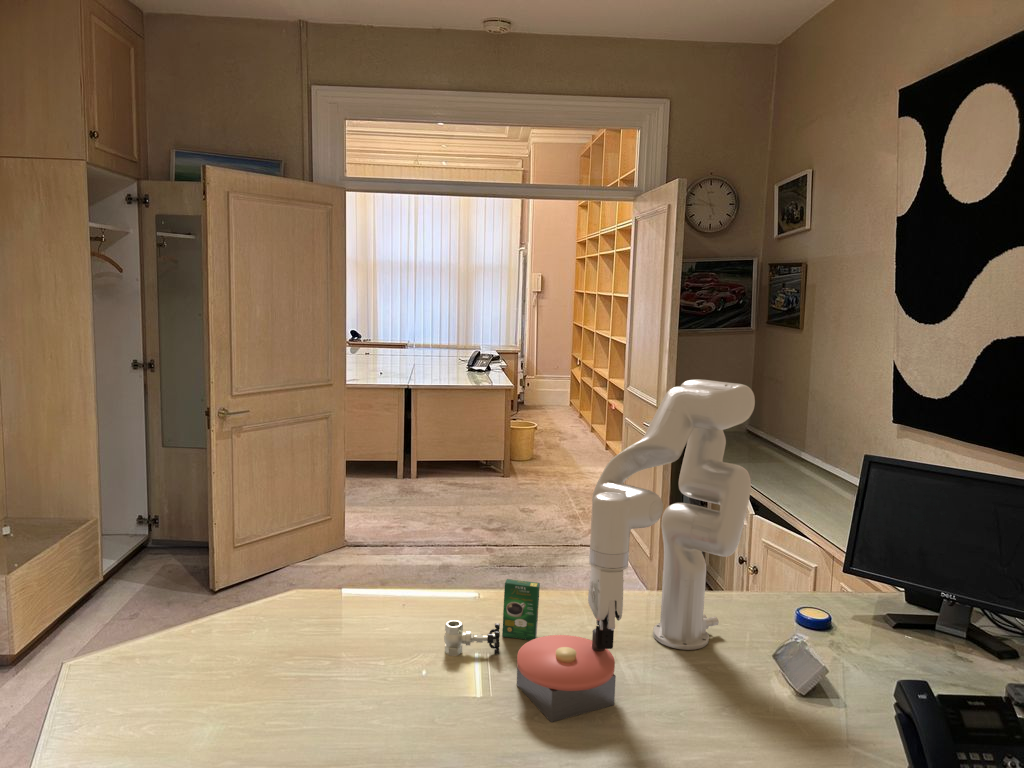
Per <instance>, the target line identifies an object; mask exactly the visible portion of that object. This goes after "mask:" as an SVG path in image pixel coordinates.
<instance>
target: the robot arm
mask: <svg viewBox="0 0 1024 768" xmlns="http://www.w3.org/2000/svg"><path fill="white" fill-rule="evenodd" d="M755 399H756V398H755V394H754V391H753V390H752V388H751V387H749V386H748V385H746V384H742V383H736V382H728V381H718V380H710V379H700V378H699V379H697V378H696V379H688V380H685V381H684V382H682V383H681V384H680V385H679V386H678V385H677V386H674V387H672V388H670V389H669V390H668V391H666V393H665V395H664V396H663V398H662V401H660V404H659V406H658V408H657V409H656V412H655V414H654V415H653V418H652V420H651V422H650V423H649V425H648V428H647V430H646V431H645V433H644V435H643V437H642V438H641V439H640V440H638V441H636V442H634V443H632V444H631V445H629V446H627V447H626V448H624V449H623V450H622V451H620V452H619V453H618V454H616V455H615V456H614V457H612V458H611V460H609V462H608V463H607V464H606V466H605V468H604V469H603V471H602V472H601V475H600V476H599V479H598V481H597V482H596V485H595V487H594V489H593V493H592V496H591V497H592V498H591V522H590V539H589V555H588V556H589V557H588V558H589V559H588V560H589V561H588V564H589V565H590V575H589V583H588V584H589V585H588V586H589V587H588V594H587V596H588V597H587V601H588V606H589V608H590V610H591V612H592V615H593V616H594V618H595V619H596V626H595V629H596V639H595V644H596V647H597V648H598V649H608V650H611V649H612V650H613V647H614V637H615V636H614V633H615V629H616V620H617V621H620V620H621V619H622V617H623V610H624V608H623V607H624V581H625V580H624V570H626V569H628V567H629V557H630V540H631V539H630V537H631V530H634V529H647V528H649V527H652V526H654V525H656V523H658V521H659V520H660V519H661V526H660V527H661V533H662V539H663V540H662V541H663V567H662V569H663V570H662V584H661V585H662V587H661V602H660V603H661V604H660V621H659V623H657V624H655V625H654V627H653V628H652V629H653V630H652V635H653V638H654V639H655V640H656V641H657V642H659V643H660V644H662V645H663V646H666V647H668V648H672V649H675V650H676V649H677V650H682V651H685V650H686V651H690V650H691V651H692V650H698V649H702V648H704V647H706V646H707V645H708V644H709V640H710V636H709V633H708V632H707V631H706V630H708V629H709V627H713V626H714V627H715V626H718V625H719V618H718V617H717V616H712V617H708V618H707V615H706V614H704V609H705V592H706V579H707V578H706V577H707V562H706V560H705V557H704V554H703V552H704V553H707V554H711V555H715V556H719V557H726V558H727V557H729V556H732V555H733V554H734V553H735V552H736V551H737V549H738V548H739V547H738V546H739V545H740V540H741V536H742V533H743V529H744V525H745V524H744V523H745V519H746V514H747V511H748V506H749V501H750V496H751V491H752V490H751V489H752V482H751V476H750V474H749V471H748V470H747V469H746V468H744V467H743V466H742V465H739V464H735V463H731V462H730V463H729V462H725V461H723V460H724V455H725V449H726V445H727V439H726V435H725V432H724V430H726V429H728V430H729V429H731V428H732V427H735V426H738V425H741V424H744V422H746V421H747V420H748V419H750V417H751V416H752V414H753V412H754V411H755V410H754V409H755V404H756V400H755ZM685 447H686V448H685ZM684 449H685V451H684ZM683 452H684V456H683V459H682V464H681V468H680V473H679V476H678V477H679V478H678V490H679V491H680V493H681V494H682V495H684V496H686V497H687V498H690V499H694V500H698V501H702V502H707V503H710V504H714V505H719V510H717V509H716V510H715V509H713V508H712V509H711V508H709V507H708V508H707V507H706V506H705V507H704V506H699V505H697V504H692V503H688V502H687V503H685V502H675V503H672V504H670V505H668V506H667V507H666V508H665V509H664V503H663V500H662V499H661V497H660V495H659V494H658V493H656V492H655V491H652V490H650V489H646V488H641V487H637V486H634V485H630V484H626V483H625V482H626V481H627V479H629V478H630V477H632V476H633V475H634V474H637V473H638V472H641V471H643V470H647V469H651V468H652V469H653V468H656V467H659V466H664V465H668V464H671V463H674V462H676V461H677V460H679V459H680V457H681V456H682V454H683Z"/></svg>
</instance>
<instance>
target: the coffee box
mask: <svg viewBox="0 0 1024 768" xmlns="http://www.w3.org/2000/svg"><path fill="white" fill-rule="evenodd" d="M540 585H541V584H540V582H534V581H527V580H520V579H509V578H507V579H506V580H505V582H504V590H503V593H504V595H503V609H502V610H503V612H502V630H501V631H502V635H501V636H502V638H509V639H519V640H526V641H531V640H533V639H536V638H537V634H538V621H539V620H538V618H539V602H540Z"/></svg>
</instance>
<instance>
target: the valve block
mask: <svg viewBox="0 0 1024 768" xmlns="http://www.w3.org/2000/svg"><path fill="white" fill-rule="evenodd" d="M616 677H617V676H616V674H615V673H614V674H613V676H612V678H611V679H610V680H609V681H607V682H606V683H605V684H603V685H601V686H598V687H596V688H592V689H588V690H581V691H562V690H555V689H550V688H547V687H543V686H540V685H538V684H536V683H533V682H532V681H530V680H528V679H527V678H526V677H524V676H523V675H522V674H521V672H520V671H519V669H518V666H517V665H516V686H517V687H518V688H519V690H521V691H522V692H523V694H524V695H525V696H527V698H528V699H529V700H530V701H531V703H533V704H534V706H536V708H537V709H538V710H539V712H541V714H543V715H544V717H546V718H547V720H548V721H549V722H550V723H553V722H557V721H560V720H564V719H567V718H571V717H575V716H576V717H577V716H579V715H584V714H586V713H590V712H593V711H596V710H600V709H604V708H608V707H612V706H615V699H616V697H615V696H616Z"/></svg>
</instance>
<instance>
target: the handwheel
mask: <svg viewBox="0 0 1024 768" xmlns="http://www.w3.org/2000/svg"><path fill="white" fill-rule="evenodd" d="M595 639H596V628H593V629H592V640H591V639H589V638H585V637H581V636H576V635H569V634H568V635H566V634H555V635H553V634H552V635H546V636H545V635H544V636H541V637H540V636H539V637H536V639H533V640H528V641H527V642H526V643H524V644H523V645H522V646H521V647H520V648H519V649H518V652H517V656H516V657H517V658H516V660H517V661H516V664H517V665H516V667H517V666H518V669H519V671H520V672H521V674H522V675H523V676H524V677H526V678H527V679H528V680H530V681H532V682H533V683H536V684H538V685H540V686H543V687H547V688H550V689H555V690H562V691H581V690H588V689H592V688H596V687H598V686H601V685H603V684H605V683H606V682H607V681H609V680H610V679H611V678H612V676H613V674H614V675H615V669H616V667H615V664H616V662H615V657H614V654H613V653H612V652H611V651H610V649H598V648H597V647H596V644H595Z"/></svg>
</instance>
